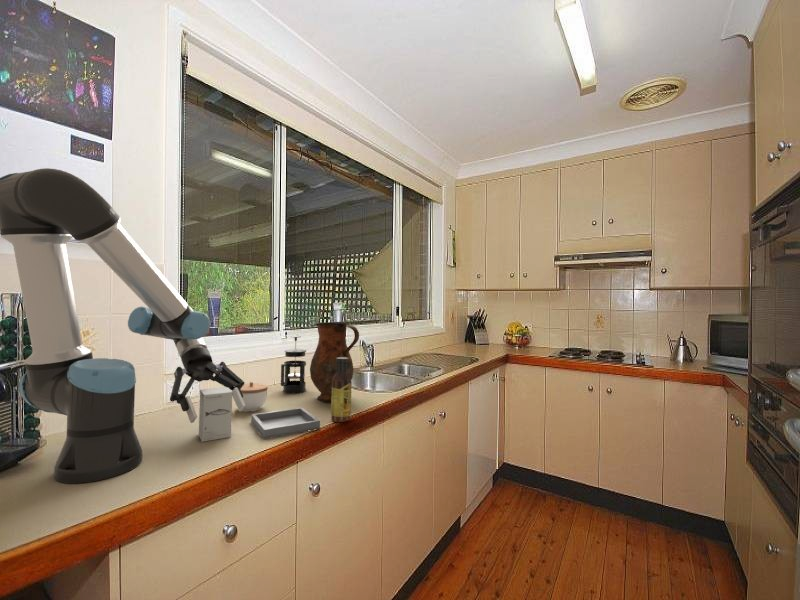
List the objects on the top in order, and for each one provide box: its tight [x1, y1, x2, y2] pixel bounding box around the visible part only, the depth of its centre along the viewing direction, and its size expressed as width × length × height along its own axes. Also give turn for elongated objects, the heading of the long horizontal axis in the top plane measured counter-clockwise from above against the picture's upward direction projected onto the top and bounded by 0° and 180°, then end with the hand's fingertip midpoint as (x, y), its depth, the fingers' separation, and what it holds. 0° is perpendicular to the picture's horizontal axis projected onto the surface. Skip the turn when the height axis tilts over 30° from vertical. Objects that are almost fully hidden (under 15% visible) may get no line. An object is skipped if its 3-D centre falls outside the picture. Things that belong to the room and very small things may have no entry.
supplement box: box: [198, 386, 233, 443], centre depth 104 cm, size 7×7×13 cm
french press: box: [280, 335, 307, 394], centre depth 157 cm, size 12×9×23 cm
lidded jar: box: [241, 381, 269, 413], centre depth 130 cm, size 11×11×9 cm
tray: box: [250, 407, 321, 440], centre depth 113 cm, size 16×16×2 cm
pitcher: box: [309, 321, 360, 404], centre depth 144 cm, size 17×21×30 cm
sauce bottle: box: [330, 357, 352, 423], centre depth 120 cm, size 7×6×20 cm
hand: (219, 414), depth 103 cm, fingers open, 13 cm apart
